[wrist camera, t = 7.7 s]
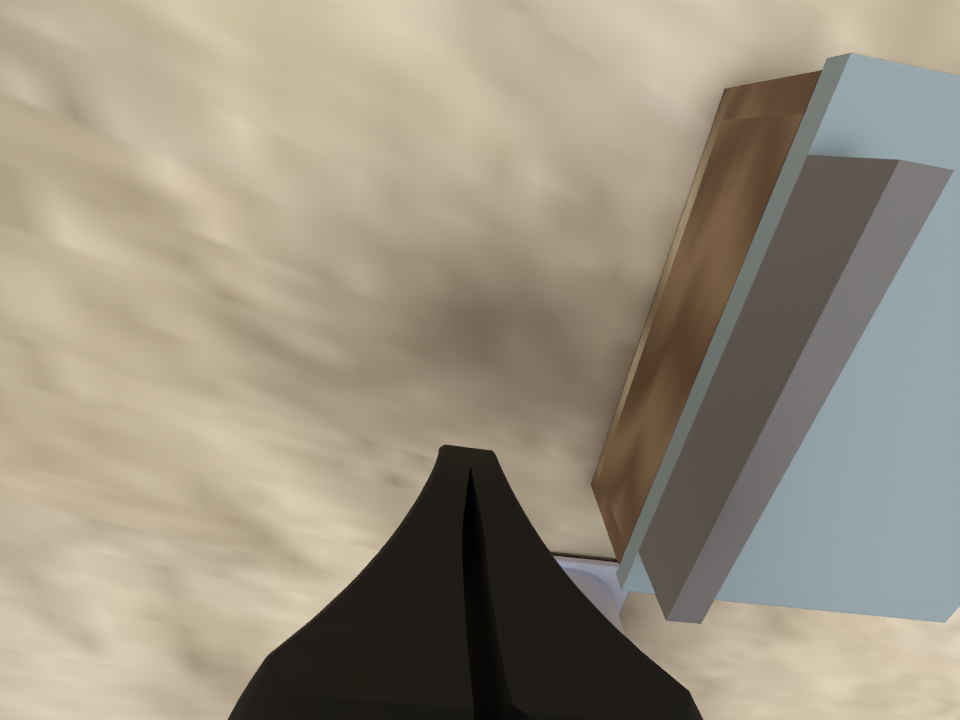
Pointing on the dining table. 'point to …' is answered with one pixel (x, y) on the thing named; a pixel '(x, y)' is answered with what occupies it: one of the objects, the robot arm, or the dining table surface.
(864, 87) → the lid
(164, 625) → the dining table surface
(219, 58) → the dining table surface
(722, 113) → the box
